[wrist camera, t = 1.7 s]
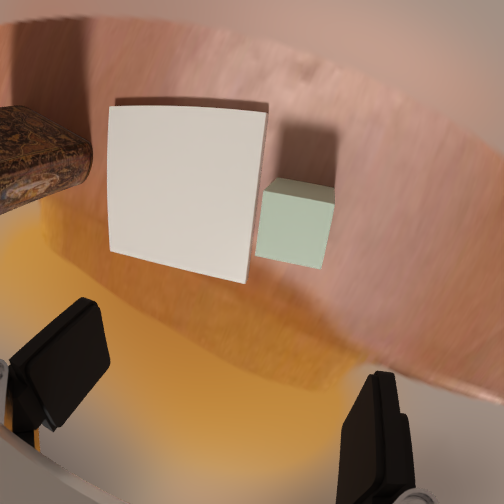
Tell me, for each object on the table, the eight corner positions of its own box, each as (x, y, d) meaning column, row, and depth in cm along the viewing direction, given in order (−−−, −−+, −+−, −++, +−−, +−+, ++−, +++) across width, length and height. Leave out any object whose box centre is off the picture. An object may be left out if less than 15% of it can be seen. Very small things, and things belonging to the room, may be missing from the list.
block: (334, 187, 26) (334, 204, 21) (323, 241, 28) (320, 269, 23) (277, 177, 27) (263, 190, 22) (270, 230, 29) (255, 255, 24)
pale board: (268, 113, 25) (266, 112, 24) (247, 279, 32) (245, 283, 31) (115, 106, 28) (109, 106, 27) (115, 247, 35) (110, 250, 34)
